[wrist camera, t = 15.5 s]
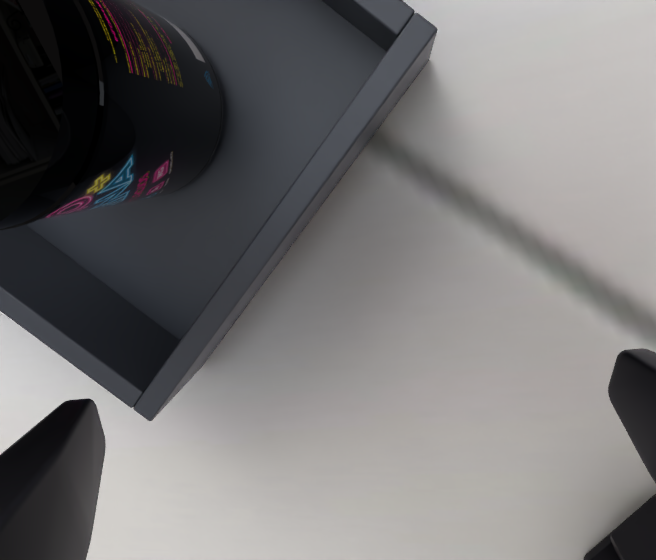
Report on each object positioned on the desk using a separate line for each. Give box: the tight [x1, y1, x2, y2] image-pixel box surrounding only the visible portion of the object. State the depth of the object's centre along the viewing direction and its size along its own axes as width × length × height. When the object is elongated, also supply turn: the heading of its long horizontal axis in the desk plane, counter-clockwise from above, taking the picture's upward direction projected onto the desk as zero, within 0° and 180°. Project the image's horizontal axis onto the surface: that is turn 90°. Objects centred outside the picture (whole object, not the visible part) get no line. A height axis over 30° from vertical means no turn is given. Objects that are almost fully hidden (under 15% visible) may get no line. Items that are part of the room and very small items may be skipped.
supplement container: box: [0, 0, 223, 230], centre depth 16 cm, size 7×7×10 cm
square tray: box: [0, 0, 437, 421], centre depth 19 cm, size 16×16×5 cm
